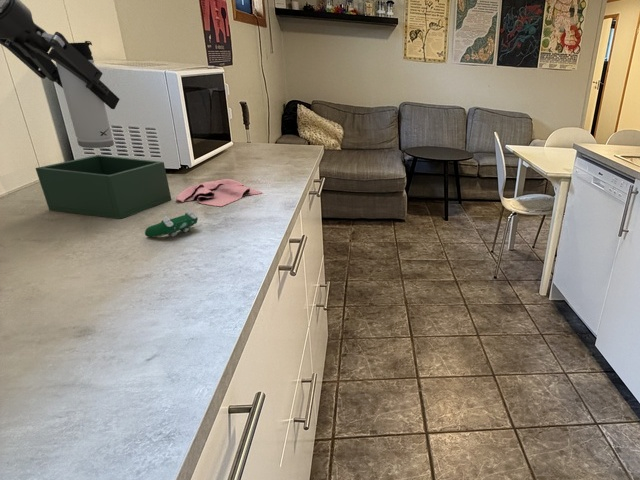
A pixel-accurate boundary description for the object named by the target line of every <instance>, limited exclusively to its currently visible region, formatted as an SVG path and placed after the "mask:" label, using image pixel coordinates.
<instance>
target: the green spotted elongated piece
mask: <svg viewBox="0 0 640 480" xmlns="http://www.w3.org/2000/svg"><path fill="white" fill-rule="evenodd" d="M197 223H198V216H197V215H196V213H194V212H193V211H192V210H190V209H187V210H186V212H185V213H184V214H183V215H180V216H177V217H174V218H169V217H168V216H163V217H162V220H161V221H160V222H158V223H155V224H153V225H150V226H148V227H146V229H145V230H144V235H145V237H148V238H156V237H157V238H158V237H164V236H167V235H168V236H170V237H176V236H177V235H178V233H177V232H178V231H179V232H183V233H187V232H189V231H190V227H192V226H194V225H197Z"/></svg>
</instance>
